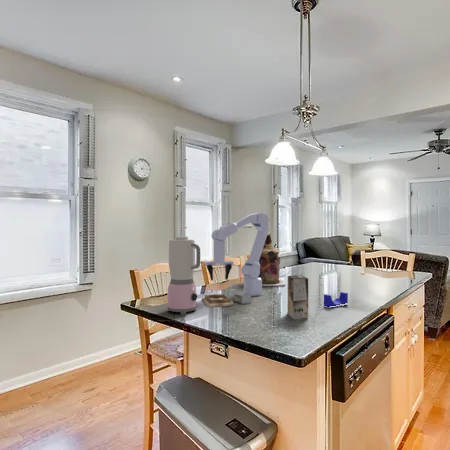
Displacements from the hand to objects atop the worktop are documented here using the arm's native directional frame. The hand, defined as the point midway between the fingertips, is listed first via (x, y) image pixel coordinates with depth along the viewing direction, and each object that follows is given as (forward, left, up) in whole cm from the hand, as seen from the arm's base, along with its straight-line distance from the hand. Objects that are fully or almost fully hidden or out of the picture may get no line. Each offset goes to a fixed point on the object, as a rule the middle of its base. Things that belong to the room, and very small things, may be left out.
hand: (219, 279), depth 172 cm
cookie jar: (-39, -36, -10) cm, 53 cm away
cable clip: (-47, +29, -10) cm, 56 cm away
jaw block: (-9, +11, -10) cm, 17 cm away
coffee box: (-23, +41, -10) cm, 48 cm away
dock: (+3, +9, -9) cm, 13 cm away
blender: (+20, +22, -10) cm, 32 cm away
